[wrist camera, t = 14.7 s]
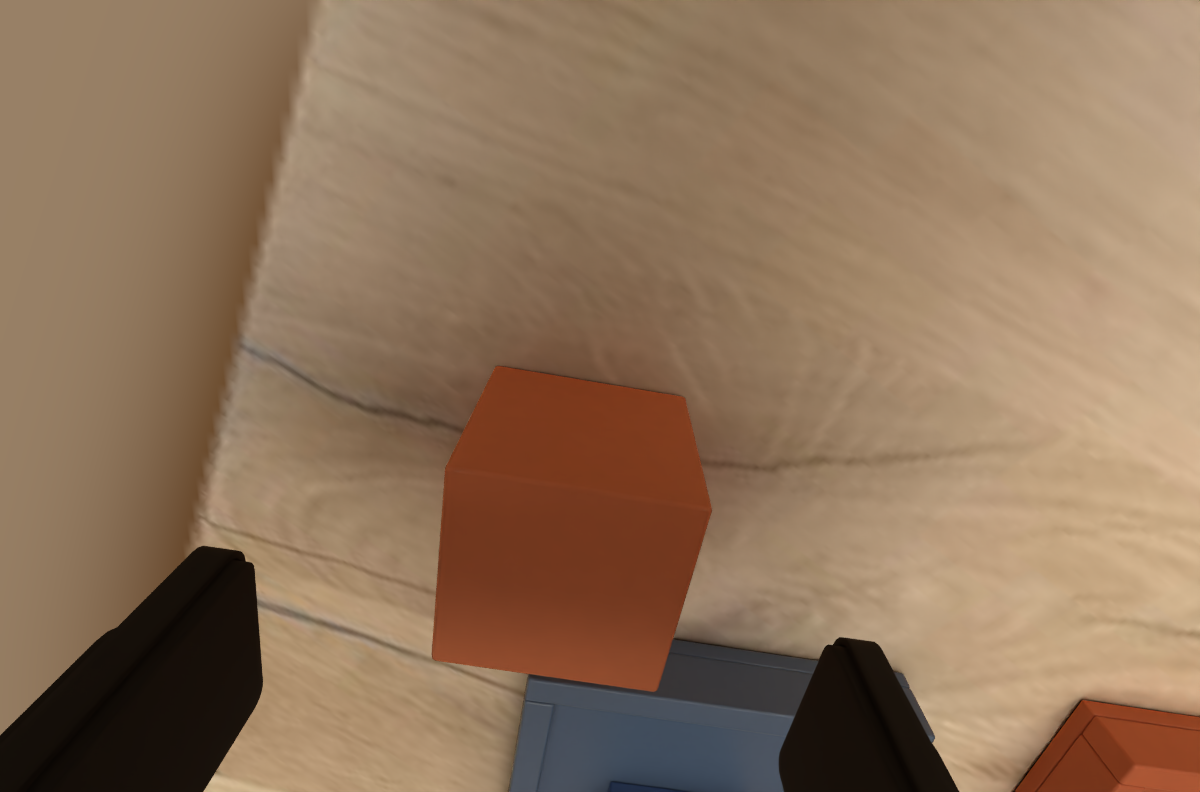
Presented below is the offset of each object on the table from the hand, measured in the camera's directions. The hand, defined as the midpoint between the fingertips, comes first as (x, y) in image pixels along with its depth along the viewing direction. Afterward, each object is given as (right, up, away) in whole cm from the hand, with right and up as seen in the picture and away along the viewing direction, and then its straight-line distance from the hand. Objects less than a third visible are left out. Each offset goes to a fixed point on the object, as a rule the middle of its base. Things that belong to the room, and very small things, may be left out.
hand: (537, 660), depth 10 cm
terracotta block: (0, +3, +5) cm, 5 cm away
